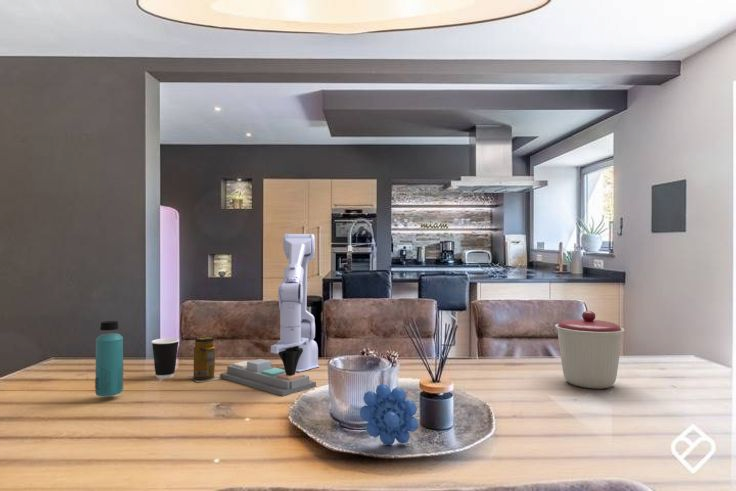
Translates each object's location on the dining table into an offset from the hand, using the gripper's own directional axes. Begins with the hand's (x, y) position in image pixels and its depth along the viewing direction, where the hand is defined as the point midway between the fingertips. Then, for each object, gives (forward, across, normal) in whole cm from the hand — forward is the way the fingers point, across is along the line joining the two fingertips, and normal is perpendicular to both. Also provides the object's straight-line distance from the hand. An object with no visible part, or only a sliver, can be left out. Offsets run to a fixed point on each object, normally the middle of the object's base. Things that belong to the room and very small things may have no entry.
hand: (290, 374), depth 129 cm
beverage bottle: (+4, +30, -36) cm, 46 cm away
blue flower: (+4, +23, +41) cm, 47 cm away
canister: (+4, -44, +73) cm, 86 cm away
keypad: (+4, -2, -10) cm, 11 cm away
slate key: (+1, -3, -14) cm, 14 cm away
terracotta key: (+2, 0, 0) cm, 2 cm away
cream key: (+2, -4, -21) cm, 21 cm away
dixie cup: (+4, +8, -41) cm, 42 cm away
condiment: (+4, +4, -30) cm, 30 cm away
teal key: (+2, -1, -7) cm, 7 cm away
